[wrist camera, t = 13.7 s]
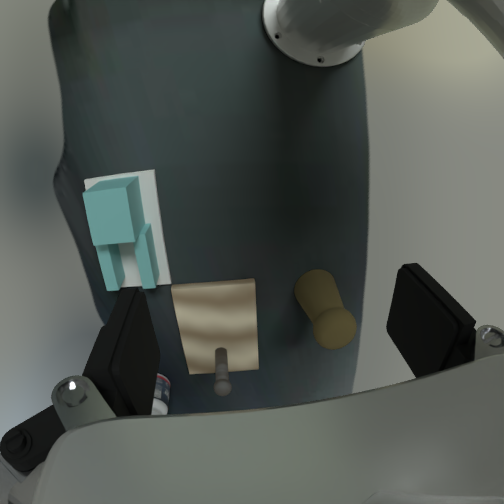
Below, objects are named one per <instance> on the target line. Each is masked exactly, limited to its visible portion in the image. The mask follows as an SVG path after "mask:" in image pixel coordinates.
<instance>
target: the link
mask: <svg viewBox="0 0 504 504" xmlns="http://www.w3.org/2000/svg"><path fill="white" fill-rule="evenodd" d="M83 198H84V203H85V208H86V213H87V218H88V223H89V227H90V232H91V236H92V241H93V245H94V246H96V250H97V254H98V258H99V262H100V266H101V270H102V273H103V277H104V281H105V284H106V288H107V291H114V290H119V289H120V287H121V285H122V282H123V280H124V278H125V273H124V268H123V264H122V260H121V255H120V251H119V246H118V243H127V242H133V245H134V250H135V255H136V259H137V264H138V269H139V273H140V278H141V282H142V287H143V289H148V288H156V285H157V281H158V278H159V275H160V273H159V268H158V262H157V257H156V251H155V245H154V239H153V233H152V227H151V223H148V224H145V218H144V212H143V205H142V198H141V191H140V184H139V176H132V177H124V178H117V179H110V180H103V181H99V182H98V183H96V184H95V185H93V186H92V187H91V188H89V189H88V190H86V191H85V192H84V193H83Z"/></svg>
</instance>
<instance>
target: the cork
mask: <svg viewBox="0 0 504 504" xmlns="http://www.w3.org/2000/svg"><path fill="white" fill-rule="evenodd" d="M294 294H295V297H296V299H297V301H298V302H299V304H300V305H301V307H302V308H303V310H304V311H305V313H306V314H307V316H308V317H309V319H310V320H311V322H312V323H313V334H314V337H315V339H316V341H317V342H318V343H319V344H320V345H321V346H322V347H324V348H327V349H333V350H334V349H339V348H342V347H344V346H346V345H347V344H349V343H350V342H351V340H352V339H353V338H354V336H355V333H356V327H357V326H356V322H355V318H354V317H353V315H352V314H351V313H350V312H349V311H348V310H346V309H344V306H343V303H342V300H341V298H340V295H339V292H338V289H337V286H336V283H335V280H334V277H333V276H332V275H331V274H330V273H329V272H327V271H325V270H320V269H316V270H311V271H309V272H306V273H305V274H303V275H302V276H301V277H300V278H299V279H298V281H297V282H296V284H295V287H294Z"/></svg>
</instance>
